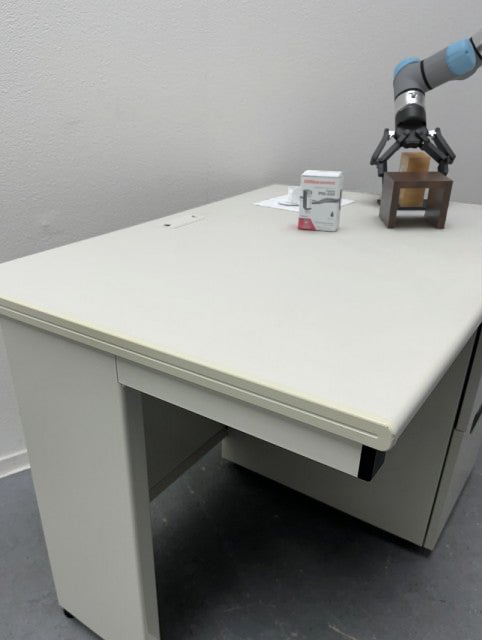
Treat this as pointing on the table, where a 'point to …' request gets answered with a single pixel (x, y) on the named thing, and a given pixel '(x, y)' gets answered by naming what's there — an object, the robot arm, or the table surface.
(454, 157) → the robot arm
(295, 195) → the teacup and saucer
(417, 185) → the shelf
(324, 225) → the ink box
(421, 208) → the mat
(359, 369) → the table surface
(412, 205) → the tape carton
